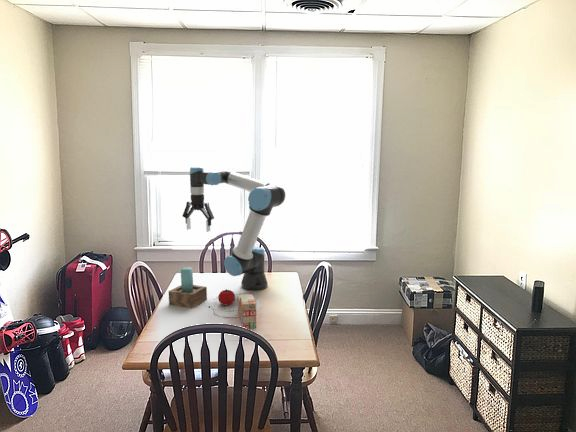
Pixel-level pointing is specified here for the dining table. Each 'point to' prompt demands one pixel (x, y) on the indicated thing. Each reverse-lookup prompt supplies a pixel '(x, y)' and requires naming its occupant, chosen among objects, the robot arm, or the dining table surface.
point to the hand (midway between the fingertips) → (198, 230)
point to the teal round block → (187, 279)
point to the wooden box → (188, 296)
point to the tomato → (226, 297)
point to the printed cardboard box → (247, 310)
